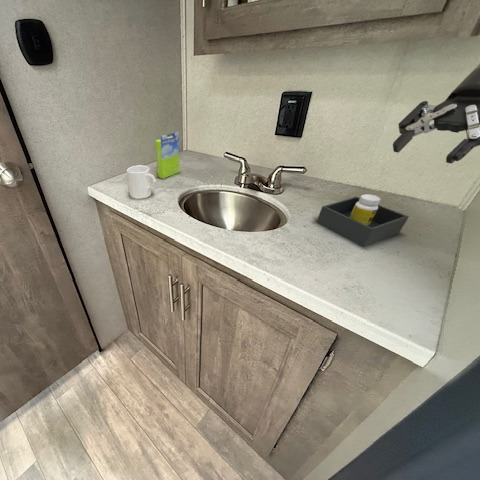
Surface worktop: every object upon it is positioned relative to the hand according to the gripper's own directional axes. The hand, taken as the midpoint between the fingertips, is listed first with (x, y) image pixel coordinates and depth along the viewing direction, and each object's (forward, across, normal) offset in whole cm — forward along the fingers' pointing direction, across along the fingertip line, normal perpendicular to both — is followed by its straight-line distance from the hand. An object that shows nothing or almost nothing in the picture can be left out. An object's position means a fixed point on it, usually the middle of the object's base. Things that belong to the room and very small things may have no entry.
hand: (420, 154), depth 47 cm
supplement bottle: (+12, -7, +19) cm, 23 cm away
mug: (+44, -55, -13) cm, 72 cm away
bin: (+12, -7, +19) cm, 24 cm away
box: (+32, -71, -1) cm, 78 cm away
